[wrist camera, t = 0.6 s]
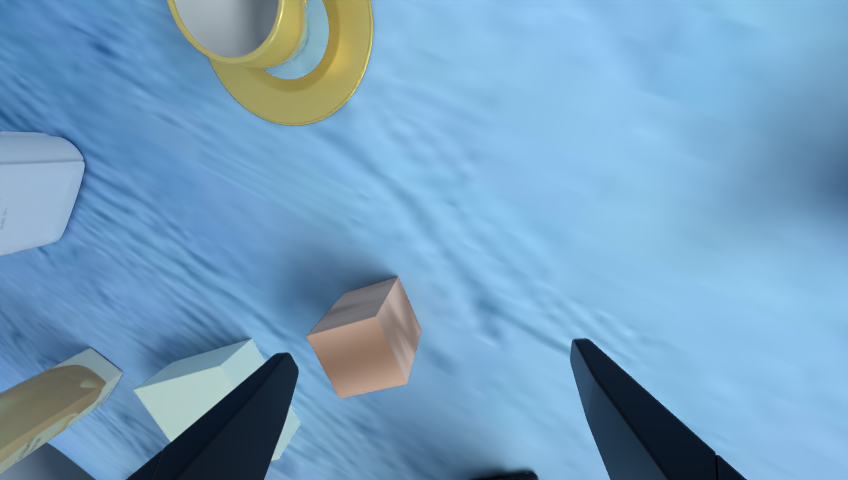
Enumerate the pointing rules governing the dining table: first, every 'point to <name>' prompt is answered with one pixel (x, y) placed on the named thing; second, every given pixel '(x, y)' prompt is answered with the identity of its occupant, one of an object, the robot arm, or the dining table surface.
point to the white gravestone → (36, 188)
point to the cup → (279, 52)
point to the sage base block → (204, 389)
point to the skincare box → (52, 403)
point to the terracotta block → (367, 339)
